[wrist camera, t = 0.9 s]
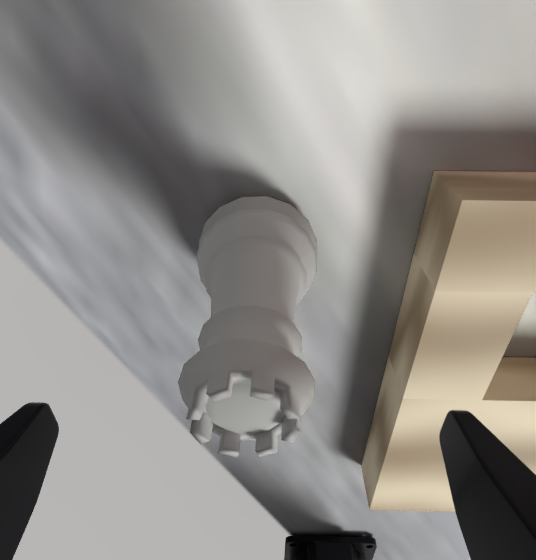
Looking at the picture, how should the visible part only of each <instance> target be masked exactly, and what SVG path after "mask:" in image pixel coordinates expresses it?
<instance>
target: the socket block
mask: <svg viewBox="0 0 536 560" xmlns="http://www.w3.org/2000/svg"><path fill="white" fill-rule="evenodd" d="M533 293H536V172H495V171H434V173H433V177H432V181H431V185H430V189H429V193H428V197H427V201H426V205H425V209H424V213H423V217H422V221H421V226H420V230H419V234H418V238H417V242H416V246H415V250H414V254H413V258H412V262H411V266H410V270H409V274H408V278H407V283H406V287H405V291H404V295H403V299H402V303H401V307H400V311H399V315H398V319H397V323H396V327H395V331H394V335H393V339H392V344H391V348H390V352H389V356H388V360H387V364H386V368H385V372H384V376H383V380H382V384H381V388H380V392H379V396H378V400H377V405H376V409H375V413H374V417H373V421H372V425H371V429H370V433H369V437H368V441H367V445H366V449H365V453H364V457H363V461H362V466H361V467H362V472H363V478H364V483H365V489H366V494H367V500H368V505H369V510H398V511H446V512H455V508H454V504H453V500H452V495H451V491H450V486H449V482H448V477H447V473H446V468H445V464H444V459H443V455H442V450H441V446H440V441H439V434H440V430H441V428H442V425H443V423H444V420H445V418H446V415H447V413H448V412H449V411H450V410H466V411H469V412H470V413H472V414H473V415H474V416H475V417H476V418H477V419H478V420H479V421H480V422H481V423H482V424H483V425H484V426H486V427H487V428H488V429H489V430H490V431H491V432H492V433H493V434H494V435H495V436H496V437H497V438H498V439H499V440H500V441H501V442H502V443H503V444H504V445H505V446H506V447H507V448H508V449H509V450H511V451H512V452H513V453H514V454H515V455H516V456H517V457H518V458H519V459H520V460H521V461H522V462H523V463H524V464H525V465H526V466H527V467H528V468H529V469H530V470H531V471H532V472H533V473H534V474H536V358H531V357H503V355H504V353H505V350H506V348H507V346H508V344H509V342H510V340H511V338H512V336H513V334H514V331H515V329H516V327H517V325H518V323H519V321H520V319H521V317H522V315H523V313H524V310H525V308H526V306H527V304H528V302H529V300H530V298H531V296H532V294H533Z"/></svg>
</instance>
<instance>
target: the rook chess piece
mask: <svg viewBox="0 0 536 560" xmlns="http://www.w3.org/2000/svg"><path fill="white" fill-rule="evenodd" d="M197 261H198V267H199V273H200V278H201V282H202V283H203V285H204V286H205V288H206V290H207V292H208V294H209V295H210V297H211V318H210V319H209V320H208V321H207V322H206V323H205V324H204V325H203V327H202V330H201V333H200V336H199V338H198V341H199V346H200V351H199V352H198V353H196V354H195V355H194V356H193V357H192V358H191V359H190V360H188V361H187V362H186V363H185V364H184V366H183V369H182V372H181V375H180V378H179V381H178V384H179V388H180V392H181V396H182V399H183V401H184V402H185V404H186V405H187V407H188V408H189V409H188V414H187V418H186V419H192V425H191V430H190V433H191V434H192V435H193V436H194V437H195V439H196V440H197V441H198V442H199V443H200V444H203V443H206V442H208V441H210V440H211V434H212V432H214V433H216V434H218V435H220V441H219V449H218V453H220V454H224V455H229V456H233V457H238V454H239V447H240V440H256V450H255V451H256V453H257V455H258V457H262V456H266V455H270V454H274V453H278V435H279V434H280V433H282V440H284V441H287V442H289V443H292V444H293V442H294V441H295V439H296V438H297V436H298V435H299V433H300V432H301V428H300V418H301V416H302V415H303V414H304V413H305V411H306V410H307V408H308V407H309V405H310V404H311V402H312V401H313V399H314V388H315V379H314V378H313V376H312V374H311V373H310V371H309V369H308V368H307V366H306V364H305V362H304V361H302V360H301V359H299V357H300V355H301V353H302V337H301V335H300V333H299V331H298V329H297V328H296V326H295V324H294V319H295V312H296V306H297V305H298V304H299V302H300V300H301V298H303V297H304V296H305V295H306V293H307V291H308V289H309V287H310V285H311V284H312V282H313V280H314V278H315V275H316V271H317V239H316V236H315V234H314V232H313V230H312V228H311V225H310V223H309V221H308V219H306V218H305V217H304V216H303V215H302V214H301V213H300V212H298V211H297V210H296V209H295V208H294V207H293V206H292V205H291V204H288V203H285V202H282V201H279V200H276V199H273V198H271V197H268V196H260V197H241V198H239V199H236V200H234V201H232V202H230V203H227V204H225V205H223V206H221V207H219V208H218V209H217V210H216V211H215V213H214V214H213V215H212V216H211V217H210V218H209V219H208V220H207V221H206V222H205V224H204V227H203V230H202V234H201V237H200V240H199V249H198V252H197Z"/></svg>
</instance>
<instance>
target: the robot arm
mask: <svg viewBox="0 0 536 560" xmlns="http://www.w3.org/2000/svg"><path fill="white" fill-rule="evenodd" d="M58 432H59V427H58V423H57V421H56V419H55V417H54V414H53V412H52V410H51V408H50V406H49V405H48V404H47V403H28V404H26V405H24V406H23V407H21V408H20V409H19V410H18V411H16V412H15V413H14V414H13V415H11V416H10V417H9V418H7V419H6V420H5V421H4V422H2V423H1V424H0V560H12V559H13V556H14V554H15V552H16V549H17V547H18V545H19V542H20V540H21V538H22V535H23V533H24V531H25V528H26V526H27V524H28V522H29V519H30V517H31V514H32V512H33V510H34V507H35V505H36V502H37V499H38V496H39V493H40V490H41V487H42V484H43V481H44V478H45V475H46V471H47V468H48V465H49V462H50V459H51V456H52V452H53V449H54V446H55V443H56V440H57V437H58ZM439 441H440V446H441V450H442V455H443V459H444V464H445V468H446V473H447V477H448V482H449V486H450V491H451V495H452V500H453V504H454V508H455V512H456V515H457V518H458V522H459V525H460V528H461V531H462V534H463V537H464V540H465V543H466V546H467V549H468V552H469V555H470V558H471V560H536V474H534V473H533V472H532V471H531V470H530V469H529V468H528V467H527V466H526V465H525V464H524V463H523V462H522V461H521V460H520V459H519V458H518V457H517V456H516V455H515V454H514V453H513V452H512V451H511V450H509V449H508V448H507V447H506V446H505V445H504V444H503V443H502V442H501V441H500V440H499V439H498V438H497V437H496V436H495V435H494V434H493V433H492V432H491V431H490V430H489V429H488V428H487V427H486V426H484V425H483V424H482V423H481V422H480V421H479V420H478V419H477V418H476V417H475V416H474V415H473V414H472V413H470V412H469V411H466V410H450V411H449V412H448V413H447V415H446V418H445V420H444V423H443V425H442V428H441V430H440V434H439ZM376 547H377V546H376V540H375V539H374V538H371V537H329V536H288V537H286V543H285V559H284V560H372V558H373V555H374V553H375V550H376Z"/></svg>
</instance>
